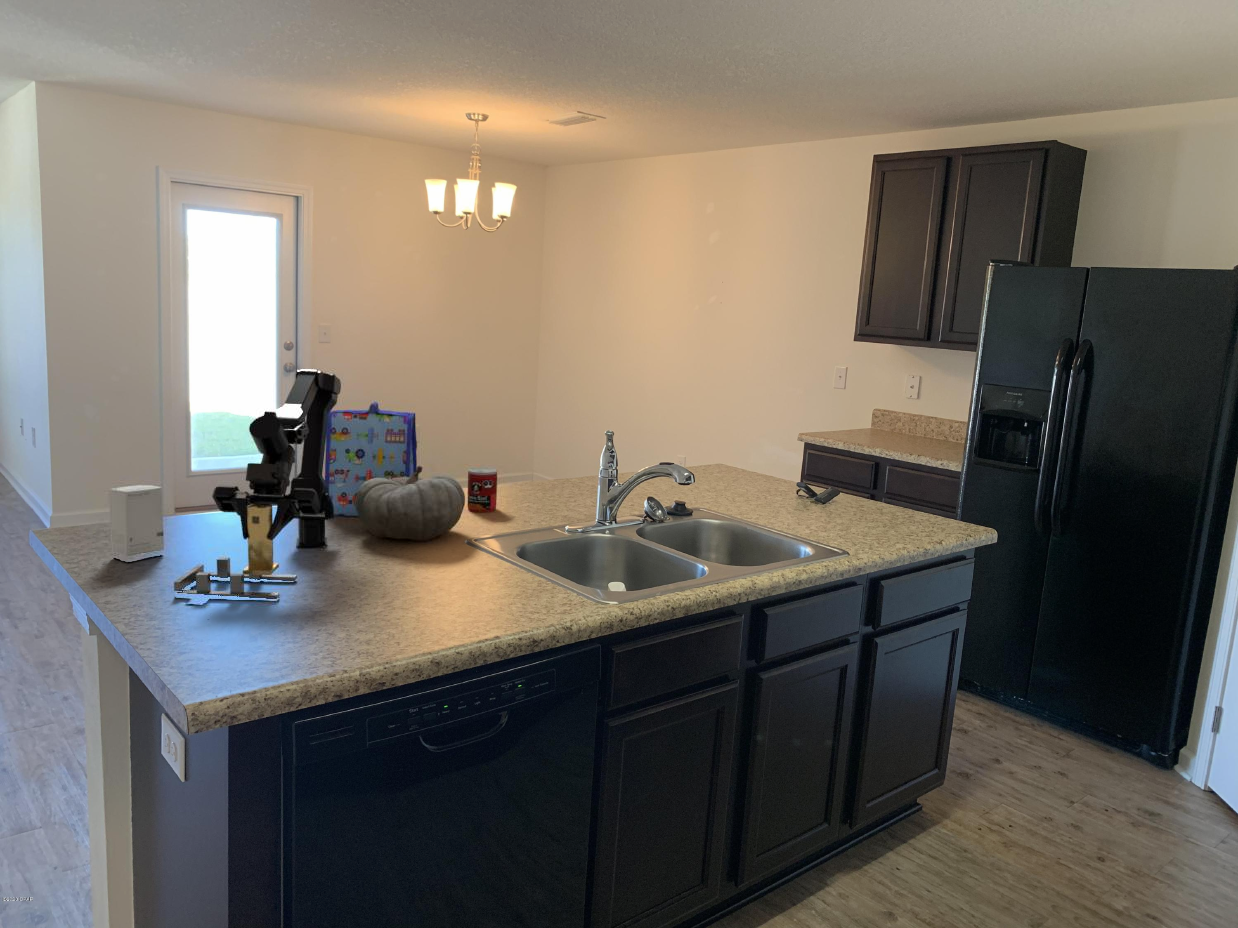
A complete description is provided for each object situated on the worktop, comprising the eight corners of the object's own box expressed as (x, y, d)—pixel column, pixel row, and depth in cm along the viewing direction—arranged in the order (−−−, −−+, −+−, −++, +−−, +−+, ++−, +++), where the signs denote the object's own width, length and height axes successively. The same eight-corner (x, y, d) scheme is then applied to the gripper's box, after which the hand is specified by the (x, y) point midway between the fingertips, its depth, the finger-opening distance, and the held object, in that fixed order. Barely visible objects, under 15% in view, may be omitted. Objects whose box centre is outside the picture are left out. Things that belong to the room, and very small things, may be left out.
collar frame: (200, 577, 174) (199, 555, 173) (297, 580, 175) (296, 558, 175) (165, 604, 159) (164, 580, 158) (271, 607, 160) (270, 583, 159)
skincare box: (127, 564, 180) (124, 492, 178) (110, 558, 183) (106, 488, 181) (166, 555, 188) (163, 486, 185) (148, 550, 191) (145, 482, 188)
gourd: (457, 541, 199) (447, 464, 198) (347, 554, 200) (336, 478, 199) (476, 526, 224) (467, 457, 223) (378, 537, 225) (368, 469, 223)
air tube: (252, 566, 171) (250, 502, 168) (278, 567, 171) (277, 503, 169) (242, 574, 166) (241, 508, 164) (270, 575, 166) (268, 509, 164)
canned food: (462, 510, 240) (463, 470, 238) (475, 505, 247) (476, 466, 245) (488, 514, 238) (489, 473, 236) (500, 508, 245) (501, 468, 243)
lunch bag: (417, 507, 241) (419, 401, 236) (407, 519, 228) (408, 407, 222) (336, 504, 240) (336, 397, 235) (321, 516, 227) (320, 403, 222)
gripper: (214, 443, 167) (192, 514, 159) (315, 447, 169) (299, 518, 160) (230, 476, 177) (211, 545, 168) (326, 479, 178) (312, 548, 169)
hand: (257, 538), depth 166 cm, fingers closed on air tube, 4 cm apart
